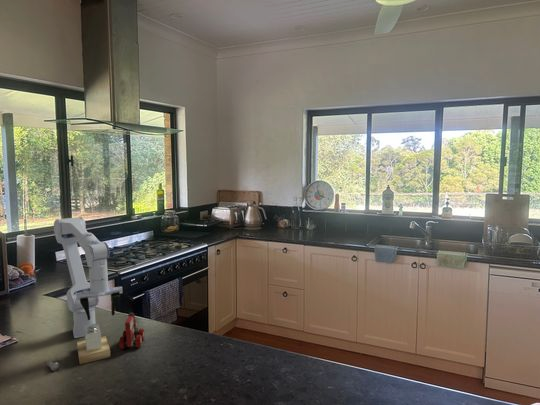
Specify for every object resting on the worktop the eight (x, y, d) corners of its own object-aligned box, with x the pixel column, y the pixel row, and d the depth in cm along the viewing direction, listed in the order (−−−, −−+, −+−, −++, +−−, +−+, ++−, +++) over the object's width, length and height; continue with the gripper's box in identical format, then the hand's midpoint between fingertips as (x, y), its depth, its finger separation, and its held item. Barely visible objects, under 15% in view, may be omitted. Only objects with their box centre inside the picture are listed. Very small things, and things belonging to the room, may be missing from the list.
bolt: (45, 367, 119) (45, 360, 119) (54, 364, 121) (53, 357, 121) (51, 372, 116) (51, 365, 116) (60, 369, 118) (59, 361, 118)
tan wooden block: (77, 348, 131) (76, 341, 131) (105, 342, 136) (105, 335, 136) (79, 364, 121) (79, 356, 121) (110, 356, 125) (110, 349, 125)
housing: (84, 342, 130) (83, 323, 130) (99, 339, 133) (97, 321, 132) (86, 352, 123) (85, 332, 123) (101, 349, 126) (100, 329, 125)
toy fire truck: (145, 335, 141) (144, 308, 140) (139, 351, 129) (138, 321, 128) (125, 337, 140) (124, 309, 139) (118, 353, 128) (116, 323, 127)
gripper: (75, 284, 124) (78, 325, 126) (123, 277, 131) (125, 316, 133) (74, 279, 130) (77, 317, 132) (119, 273, 137) (121, 309, 139)
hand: (101, 316), depth 133 cm, fingers open, 7 cm apart
